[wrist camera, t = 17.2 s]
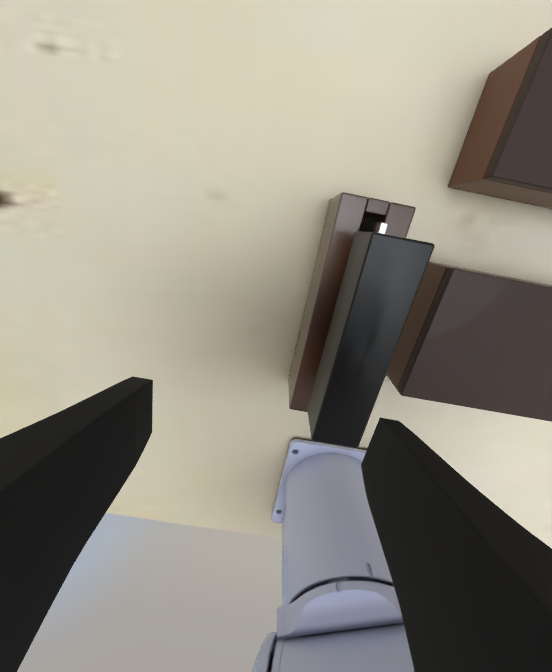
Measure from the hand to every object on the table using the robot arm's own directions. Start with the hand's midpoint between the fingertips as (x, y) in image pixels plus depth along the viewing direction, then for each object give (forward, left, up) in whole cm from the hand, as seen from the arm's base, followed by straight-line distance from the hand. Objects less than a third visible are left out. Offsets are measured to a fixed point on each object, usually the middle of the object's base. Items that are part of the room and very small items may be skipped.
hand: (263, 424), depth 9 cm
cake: (+2, -14, -10) cm, 17 cm away
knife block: (+2, -4, -10) cm, 11 cm away
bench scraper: (+2, -4, -10) cm, 11 cm away
